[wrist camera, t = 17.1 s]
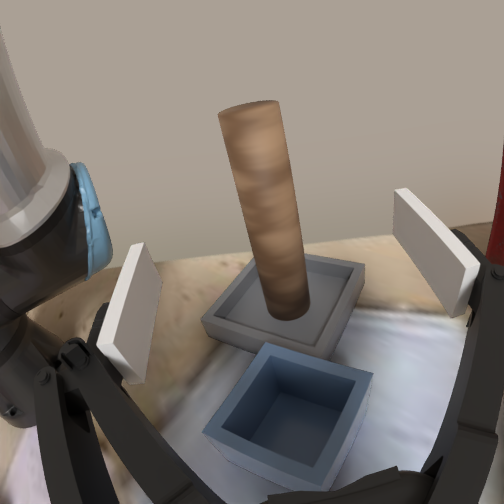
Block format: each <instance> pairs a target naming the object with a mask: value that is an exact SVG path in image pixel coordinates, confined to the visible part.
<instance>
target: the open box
mask: <svg viewBox="0 0 504 504" xmlns="http://www.w3.org/2000/svg"><path fill="white" fill-rule="evenodd" d="M372 379H373V373H371V372H367V371H363V370H359V369H355V368H352V367H348V366H344V365H341V364H337V363H333V362H330V361H326V360H323V359H319V358H316V357H312V356H309V355H306V354H302V353H299V352H296V351H293V350H289V349H286V348H283V347H280V346H277V345H273V344H270V343H267V342H265V343H264V345H263V346H262V348H261V349H260V351H259V352H258V354H257V355H256V357H255V358H254V360H253V361H252V362H251V364H250V365H249V367H248V368H247V370H246V371H245V373H244V374H243V375H242V377H241V378H240V380H239V381H238V383H237V384H236V385H235V387H234V388H233V390H232V391H231V392H230V394H229V395H228V397H227V398H226V399H225V401H224V402H223V404H222V405H221V406H220V408H219V409H218V410H217V412H216V413H215V415H214V416H213V417H212V419H211V420H210V421H209V423H208V424H207V425H206V427H205V428H204V429H203V431H202V433H203V434H204V435H205V436H206V438H207V439H208V440H209V441H210V442H211V443H212V444H213V445H214V446H215V447H216V448H217V449H218V451H219V452H220V453H221V454H222V455H223V456H224V457H225V458H226V459H227V460H228V461H230V462H232V463H234V464H236V465H238V466H240V467H242V468H244V469H246V470H248V471H250V472H252V473H254V474H256V475H258V476H260V477H262V478H265V479H267V480H269V481H271V482H274V483H276V484H278V485H280V486H283V487H285V488H288V489H290V490H293V491H329V490H330V488H331V486H332V484H333V482H334V480H335V479H336V477H337V475H338V473H339V471H340V469H341V467H342V465H343V463H344V461H345V459H346V457H347V455H348V453H349V451H350V448H351V446H352V444H353V442H354V440H355V438H356V435H357V433H358V431H359V429H360V426H361V424H362V422H363V419H364V417H365V415H366V411H367V406H368V401H369V396H370V391H371V385H372Z"/></svg>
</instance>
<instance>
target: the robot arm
mask: <svg viewBox="0 0 504 504" xmlns="http://www.w3.org/2000/svg"><path fill="white" fill-rule="evenodd" d="M393 235H394V237H395V238H396V239H397V240H398V242H399V243H400V245H401V246H402V247H403V249H404V250H405V251H406V253H407V254H408V255H409V257H410V258H411V260H412V261H413V262H414V264H415V265H416V267H417V268H418V269H419V271H420V272H421V274H422V275H423V277H424V278H425V279H426V281H427V282H428V284H429V285H430V287H431V288H432V290H433V291H434V293H435V294H436V296H437V297H438V299H439V300H440V302H441V303H442V305H443V306H444V308H445V310H446V311H447V313H448V314H449V316H450V318H454V317H456V316H459V315H462V314H465V311H466V308H467V305H468V304H469V305H470V307H471V308H472V312H471V315H470V317H469V320H468V322H467V325H466V327H468V331H467V336H466V340H465V345H464V350H463V354H462V358H461V362H460V366H459V370H458V374H457V378H456V381H455V385H454V388H453V392H452V395H451V398H450V401H449V405H448V408H447V411H446V414H445V417H444V420H443V422H442V425H441V428H440V431H439V433H438V436H437V439H436V441H435V444H434V446H433V449H432V451H431V453H430V455H429V456H428V458H427V460H426V462H425V463H424V465H423V467H422V469H421V471H420V472H416V471H405V470H401V471H398V467H397V466H395V467H392V468H389V469H386V470H382V471H379V472H376V473H373V474H369V475H366V476H364V477H363V478H361V479H359V480H357V481H355V482H353V483H351V484H349V485H347V486H345V487H343V488H341V489H339V490H337V491H295V492H288V493H282V494H275V495H267V496H268V500H267V501H265V502H262V503H260V504H478V502H479V499H480V497H481V494H482V491H483V489H484V486H485V483H486V480H487V477H488V474H489V471H490V468H491V465H492V462H493V458H494V455H495V452H496V448H497V444H498V435H497V434H496V433H495V428H496V424H497V420H498V415H499V411H500V406H501V401H502V396H503V390H504V266H501V265H497V264H491V263H490V261H489V260H488V259H487V258H486V257H485V256H484V255H483V254H482V253H481V251H480V250H479V249H478V248H477V247H475V245H474V244H473V243H472V242H470V240H469V239H468V238H467V237H466V235H465V234H463V233H461V232H460V231H458V230H456V229H453V230H449V229H448V228H447V227H446V226H445V225H444V223H443V222H442V221H441V220H440V219H439V218H438V217H437V216H436V215H435V214H434V213H433V212H432V211H431V210H430V209H429V208H427V207H426V206H425V205H424V204H423V203H422V202H421V201H420V200H419V199H418V198H417V197H416V196H415V195H414V194H413V193H412V192H411V191H409V190H408V189H407V188H402V189H397V190H394V216H393ZM112 255H113V249H112V244H111V240H110V236H109V233H108V229H107V226H106V223H105V220H104V217H103V215H102V212H101V211H100V205H99V202H98V198H97V196H96V192H95V189H94V186H93V183H92V181H91V178H90V175H89V173H88V170H87V168H86V166H85V165H84V164H83V163H81V162H78V163H71V164H70V165H69V163H68V161H67V159H66V158H65V156H64V155H63V154H62V153H61V152H59V151H57V150H54V149H49V148H44V147H43V145H42V143H41V141H40V138H39V136H38V133H37V131H36V129H35V126H34V124H33V122H32V119H31V117H30V115H29V112H28V109H27V107H26V104H25V102H24V99H23V96H22V94H21V91H20V88H19V85H18V83H17V80H16V77H15V74H14V71H13V68H12V65H11V62H10V59H9V55H8V52H7V49H6V46H5V42H4V39H3V35H2V31H1V28H0V416H1V417H2V418H3V419H4V420H6V421H7V422H8V423H9V424H11V425H12V426H15V427H18V428H29V427H33V426H36V425H37V432H38V440H39V447H40V453H41V459H42V465H43V470H44V475H45V480H46V485H47V489H48V493H49V497H50V501H51V504H120V503H119V501H118V498H117V495H116V493H115V490H114V487H113V485H112V482H111V479H110V476H109V473H108V471H107V468H106V465H105V462H104V458H103V455H102V452H101V449H100V445H99V442H98V439H97V435H96V431H95V428H94V424H93V420H92V416H91V412H92V414H93V416H94V417H95V419H96V421H97V423H98V424H99V426H100V428H101V429H102V431H103V433H104V434H105V436H106V437H107V439H108V441H109V442H110V444H111V445H112V447H113V448H114V450H115V451H116V453H117V454H118V456H119V457H120V459H121V460H122V462H123V463H124V465H125V466H126V468H127V469H128V470H129V472H130V473H131V475H132V476H133V477H134V479H135V480H136V481H137V483H138V484H139V485H140V487H141V488H142V489H143V491H144V492H145V493H146V495H147V496H148V497H149V498H150V500H151V501H152V502H153V503H154V504H227V503H226V502H224V501H223V500H222V499H221V498H219V497H218V496H217V495H216V494H215V493H214V492H213V491H212V490H211V489H210V488H209V487H208V486H207V485H206V484H205V483H204V482H203V481H202V480H201V479H200V478H199V477H198V476H197V475H196V474H195V473H194V472H193V471H192V470H191V469H190V468H189V466H188V465H187V464H186V463H185V462H184V461H183V460H182V459H181V458H180V457H179V456H178V454H177V453H176V452H175V451H174V450H173V449H172V448H171V447H170V445H169V444H168V443H167V442H166V441H165V440H164V438H163V437H162V436H161V435H160V434H159V433H158V431H157V430H156V429H155V428H154V426H153V425H152V424H151V423H150V422H149V420H148V419H147V418H146V416H145V415H144V414H143V413H142V411H141V410H140V409H139V407H138V406H137V405H136V404H135V402H134V401H133V400H132V398H131V397H130V396H129V394H128V393H127V391H126V390H125V389H124V388H123V386H122V385H121V384H122V378H124V379H125V381H126V382H127V383H128V384H129V385H132V384H145V378H146V371H147V365H148V358H149V352H150V346H151V340H152V335H153V329H154V324H155V318H156V313H157V308H158V302H159V297H160V292H161V288H162V283H163V282H162V280H161V278H160V276H159V273H158V271H157V269H156V267H155V265H154V263H153V261H152V258H151V256H150V254H149V252H148V249H147V247H146V245H145V243H144V242H142V243H138V244H134V245H131V247H130V249H129V252H128V255H127V257H126V260H125V263H124V265H123V268H122V270H121V273H120V276H119V278H118V281H117V284H116V287H115V289H114V292H113V295H112V298H111V301H110V302H108V303H103V305H102V306H101V307H100V309H99V310H98V311H97V314H96V317H95V319H94V321H95V322H93V325H92V329H91V331H90V334H89V337H88V340H87V343H85V342H84V340H82V339H81V338H78V337H76V338H72V339H70V340H68V341H67V342H66V343H65V344H64V343H63V342H62V341H61V339H59V338H58V337H57V336H56V335H54V334H52V333H51V332H49V331H48V330H46V329H45V328H43V327H42V326H40V325H39V324H37V323H36V322H34V321H33V320H31V319H30V318H29V317H28V316H27V315H26V312H28V311H30V310H32V309H33V308H35V307H37V306H39V305H41V304H42V303H44V302H46V301H48V300H50V299H52V298H53V297H55V296H57V295H59V294H61V293H63V292H64V291H66V290H68V289H70V288H72V287H74V286H76V285H77V284H79V283H81V282H83V281H87V280H89V279H90V277H91V276H92V275H93V274H95V273H97V272H98V271H100V270H101V269H103V268H105V267H106V266H107V265H108V264H109V263H110V261H111V259H112ZM90 410H91V412H90Z"/></svg>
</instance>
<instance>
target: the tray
mask: <svg viewBox="0 0 504 504" xmlns="http://www.w3.org/2000/svg"><path fill="white" fill-rule="evenodd" d="M304 256H305V263H306V271H307V278H308V286H309V294H310V303H311V304H310V308H309V310H308V311H307V313H306V314H304V315H303V316H302V317H300V318H298V319H295V320H291V321H281V320H277V319H275V318H273V317H272V316H271V315H270V314H269V313H268V310H267V306H266V302H265V298H264V294H263V290H262V286H261V283H260V279H259V275H258V271H257V267H256V263H255V259H254V257H253V259H252V260H251V261H250V262H249V263H248V264H247V266H246V267H245V268H244V269H243V270H242V271H241V273H240V274H239V275H238V276H237V277H236V278H235V280H234V281H233V282H232V283H231V284H230V285H229V287H228V288H227V289H226V290H225V291H224V292H223V294H222V295H221V296H220V297H219V298H218V299H217V301H216V302H215V303H214V304H213V305H212V306H211V308H210V309H209V310H208V311H207V312H206V313H205V314H204V316H203V317H202V318H201V321H202V324H203V326H204V328H205V330H206V332H207V334H208V336H209V337H211V338H214V339H216V340H219V341H222V342H224V343H227V344H230V345H232V346H235V347H238V348H240V349H243V350H246V351H249V352H251V353H254V354H258V352H259V351H260V349H261V348H262V346H263V345H264V343H265V342H267V343H270V344H273V345H277V346H280V347H283V348H286V349H289V350H293V351H296V352H299V353H302V354H306V355H309V356H312V357H316V358H319V359H323V360H326V361H329V360H330V358H331V356H332V354H333V352H334V350H335V348H336V346H337V344H338V342H339V340H340V338H341V335H342V333H343V331H344V329H345V327H346V325H347V322H348V320H349V318H350V316H351V313H352V311H353V309H354V307H355V304H356V302H357V300H358V297H359V295H360V293H361V290H362V288H363V286H364V283H365V264H362V263H356V262H350V261H345V260H339V259H333V258H328V257H322V256H316V255H310V254H305V253H304Z"/></svg>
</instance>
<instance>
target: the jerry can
mask: <svg viewBox="0 0 504 504" xmlns="http://www.w3.org/2000/svg"><path fill="white" fill-rule="evenodd" d="M485 257H486V258H487V259H488V260H489V261H490V263H491V264H497V265H501V266H504V145H503V157H502V167H501V176H500V183H499V191H498V197H497V203H496V209H495V215H494V220H493V225H492V230H491V234H490V239H489V243H488V248H487V252H486V256H485Z"/></svg>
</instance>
